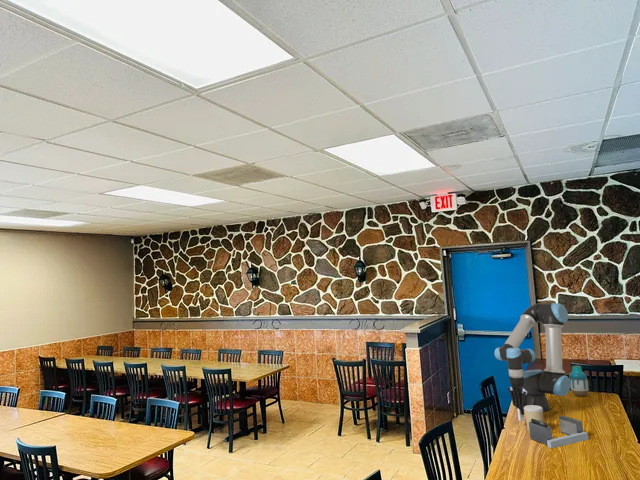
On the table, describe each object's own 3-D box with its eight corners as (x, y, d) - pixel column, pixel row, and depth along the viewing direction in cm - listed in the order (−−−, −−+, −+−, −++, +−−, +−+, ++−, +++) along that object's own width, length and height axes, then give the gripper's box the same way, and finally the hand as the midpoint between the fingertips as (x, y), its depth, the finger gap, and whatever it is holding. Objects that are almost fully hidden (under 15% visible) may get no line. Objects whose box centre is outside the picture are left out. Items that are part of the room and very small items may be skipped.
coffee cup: (544, 428, 233) (541, 405, 234) (547, 434, 224) (544, 409, 225) (525, 427, 236) (522, 404, 237) (527, 433, 227) (524, 409, 228)
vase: (575, 398, 285) (571, 368, 287) (568, 394, 296) (565, 365, 298) (592, 397, 283) (588, 367, 286) (585, 393, 294) (581, 364, 296)
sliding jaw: (530, 438, 218) (528, 418, 219) (536, 437, 219) (533, 417, 220) (548, 445, 208) (545, 424, 209) (554, 443, 209) (551, 423, 210)
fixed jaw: (559, 432, 224) (557, 416, 225) (565, 431, 225) (563, 415, 226) (578, 439, 214) (576, 422, 215) (584, 437, 215) (581, 421, 216)
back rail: (547, 447, 207) (546, 440, 207) (585, 438, 215) (584, 431, 215) (551, 448, 205) (550, 441, 205) (588, 439, 213) (587, 432, 213)
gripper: (502, 375, 247) (507, 418, 244) (519, 379, 234) (525, 424, 232) (513, 373, 249) (518, 416, 246) (530, 377, 237) (536, 422, 234)
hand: (521, 420), depth 239 cm, fingers closed
